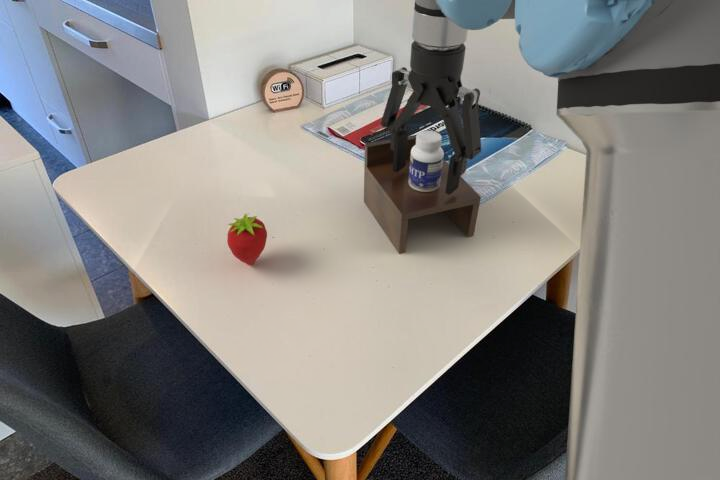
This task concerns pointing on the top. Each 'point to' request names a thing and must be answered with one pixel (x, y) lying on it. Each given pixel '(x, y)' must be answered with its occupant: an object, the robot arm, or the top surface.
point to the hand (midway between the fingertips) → (424, 179)
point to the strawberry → (247, 239)
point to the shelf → (411, 195)
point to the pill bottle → (426, 162)
